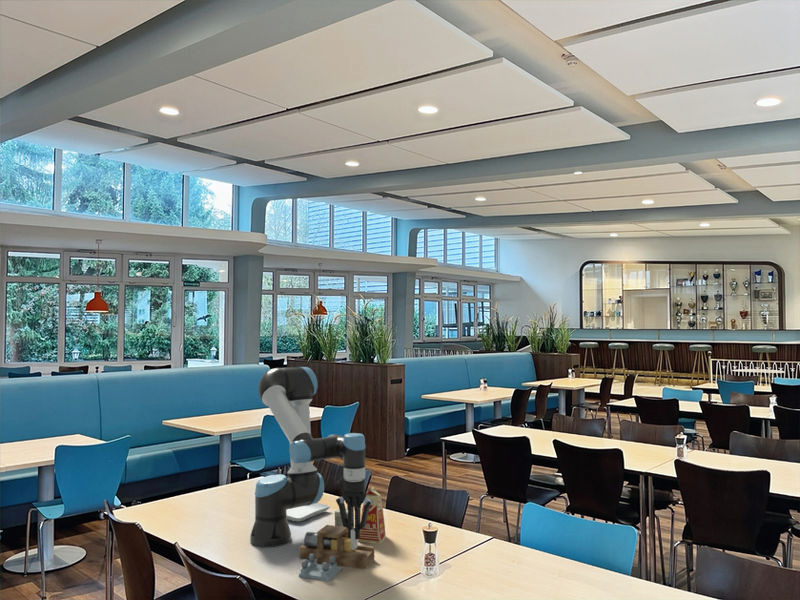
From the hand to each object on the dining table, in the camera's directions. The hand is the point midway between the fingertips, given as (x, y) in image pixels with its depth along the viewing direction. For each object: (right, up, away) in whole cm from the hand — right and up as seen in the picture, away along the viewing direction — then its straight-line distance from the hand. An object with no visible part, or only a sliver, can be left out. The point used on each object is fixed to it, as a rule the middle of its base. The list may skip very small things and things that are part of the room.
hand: (354, 548), depth 219 cm
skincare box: (-5, -6, +18) cm, 20 cm away
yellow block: (-4, -1, +1) cm, 4 cm away
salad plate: (-28, -7, +54) cm, 61 cm away
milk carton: (+5, -6, +23) cm, 25 cm away
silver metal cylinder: (-12, -1, +4) cm, 13 cm away
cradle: (-11, -4, -10) cm, 15 cm away
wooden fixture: (-7, -5, +2) cm, 9 cm away
